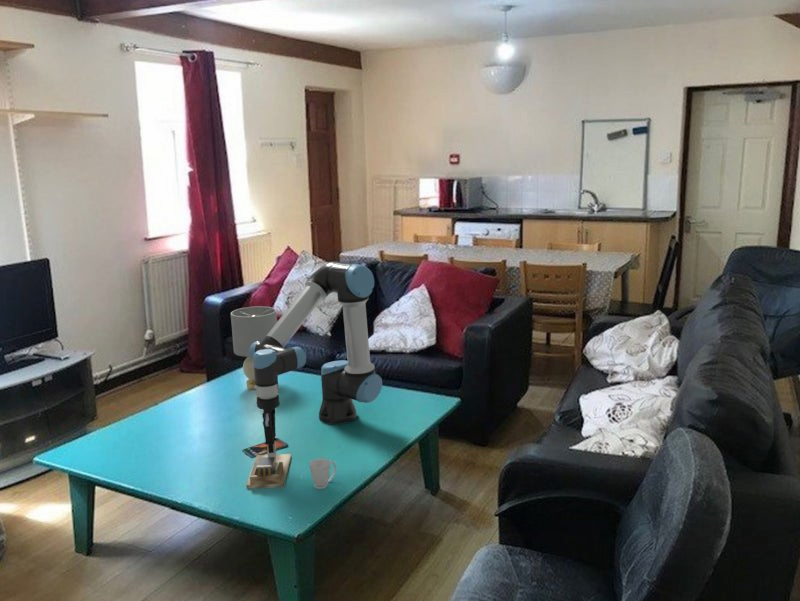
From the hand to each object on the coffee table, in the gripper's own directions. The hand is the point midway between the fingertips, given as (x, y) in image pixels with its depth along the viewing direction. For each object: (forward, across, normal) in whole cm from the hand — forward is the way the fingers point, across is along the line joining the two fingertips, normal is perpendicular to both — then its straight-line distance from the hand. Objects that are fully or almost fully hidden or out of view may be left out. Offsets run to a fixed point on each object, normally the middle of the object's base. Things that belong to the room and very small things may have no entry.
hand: (272, 459), depth 239 cm
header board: (+2, +5, 0) cm, 5 cm away
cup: (+2, +15, +19) cm, 24 cm away
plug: (+1, +10, -1) cm, 11 cm away
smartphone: (+3, -14, -4) cm, 15 cm away
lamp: (+3, -82, -17) cm, 84 cm away
